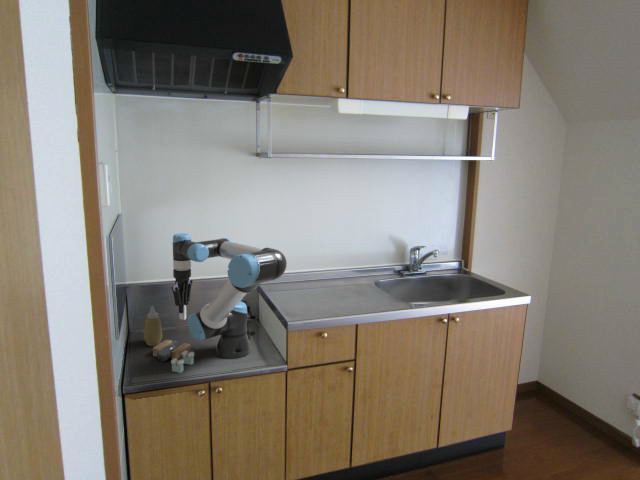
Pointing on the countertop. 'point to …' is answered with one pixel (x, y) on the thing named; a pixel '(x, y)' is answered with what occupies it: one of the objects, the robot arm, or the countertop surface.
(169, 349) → the dark grey rounded block
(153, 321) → the squeeze bottle
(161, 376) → the countertop surface
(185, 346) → the wooden bars with cylinder
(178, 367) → the cradle
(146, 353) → the countertop surface
